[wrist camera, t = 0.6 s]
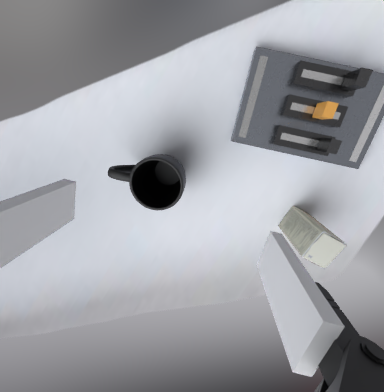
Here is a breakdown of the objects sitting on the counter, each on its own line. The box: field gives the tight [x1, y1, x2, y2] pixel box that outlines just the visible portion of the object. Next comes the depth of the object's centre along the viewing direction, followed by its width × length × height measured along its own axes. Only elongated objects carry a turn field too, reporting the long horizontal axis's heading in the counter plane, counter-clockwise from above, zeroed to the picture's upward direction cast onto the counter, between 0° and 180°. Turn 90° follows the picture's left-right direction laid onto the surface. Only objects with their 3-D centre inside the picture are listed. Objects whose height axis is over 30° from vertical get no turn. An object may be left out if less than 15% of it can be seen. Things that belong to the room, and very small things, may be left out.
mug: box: [108, 154, 186, 210], centre depth 35 cm, size 8×12×10 cm
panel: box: [231, 47, 384, 169], centre depth 31 cm, size 14×22×6 cm, turn 78°
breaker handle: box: [312, 101, 339, 120], centre depth 30 cm, size 2×2×3 cm
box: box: [278, 206, 346, 269], centre depth 35 cm, size 5×4×11 cm
